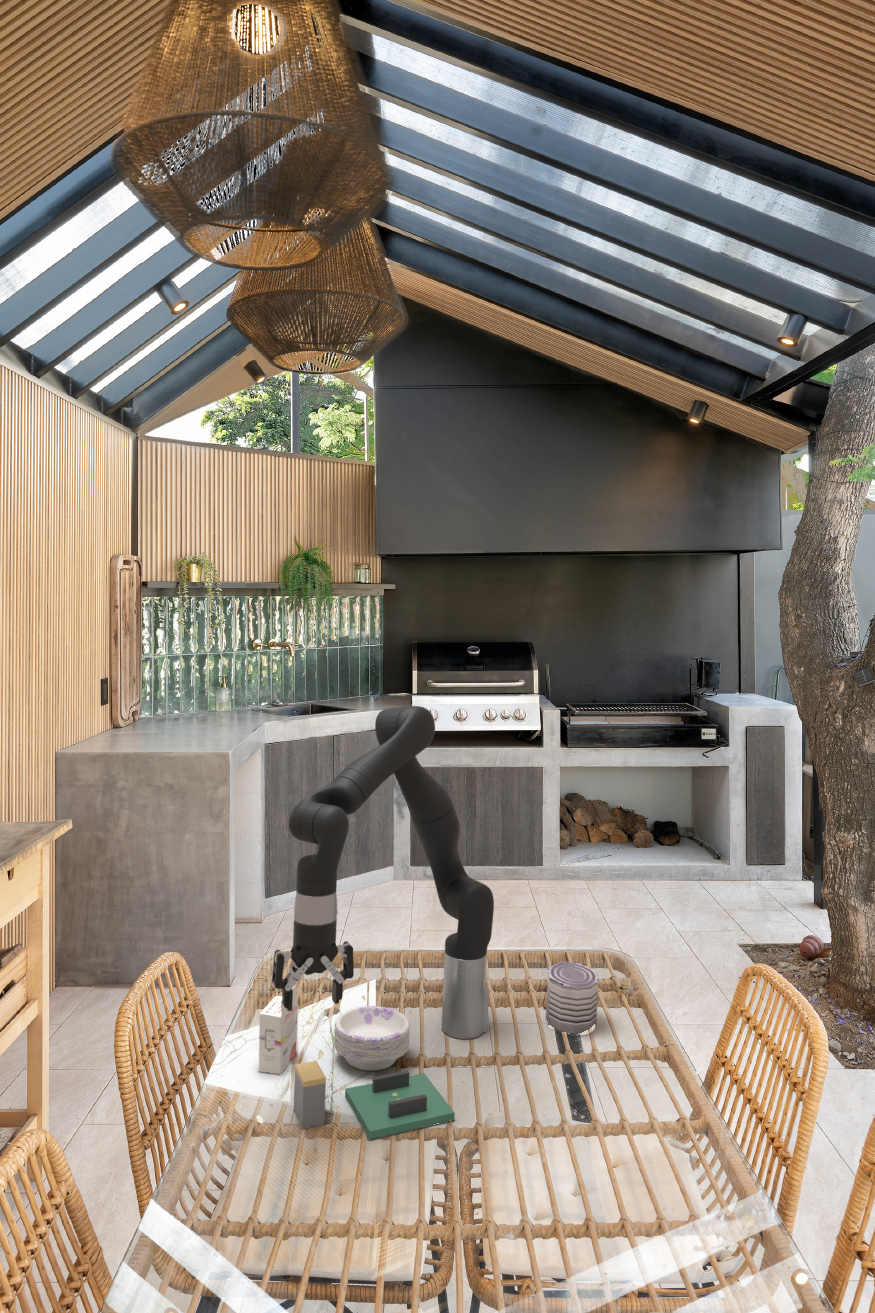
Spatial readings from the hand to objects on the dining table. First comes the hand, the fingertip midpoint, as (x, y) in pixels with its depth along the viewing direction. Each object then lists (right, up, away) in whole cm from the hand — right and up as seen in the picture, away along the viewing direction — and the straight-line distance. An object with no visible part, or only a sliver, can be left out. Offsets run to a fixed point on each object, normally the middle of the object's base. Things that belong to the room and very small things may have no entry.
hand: (312, 1005), depth 150 cm
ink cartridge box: (-10, -19, +19) cm, 29 cm away
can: (+52, -21, +40) cm, 69 cm away
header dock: (+15, -21, +5) cm, 26 cm away
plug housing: (-1, -20, +1) cm, 20 cm away
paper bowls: (+9, -20, +22) cm, 31 cm away
